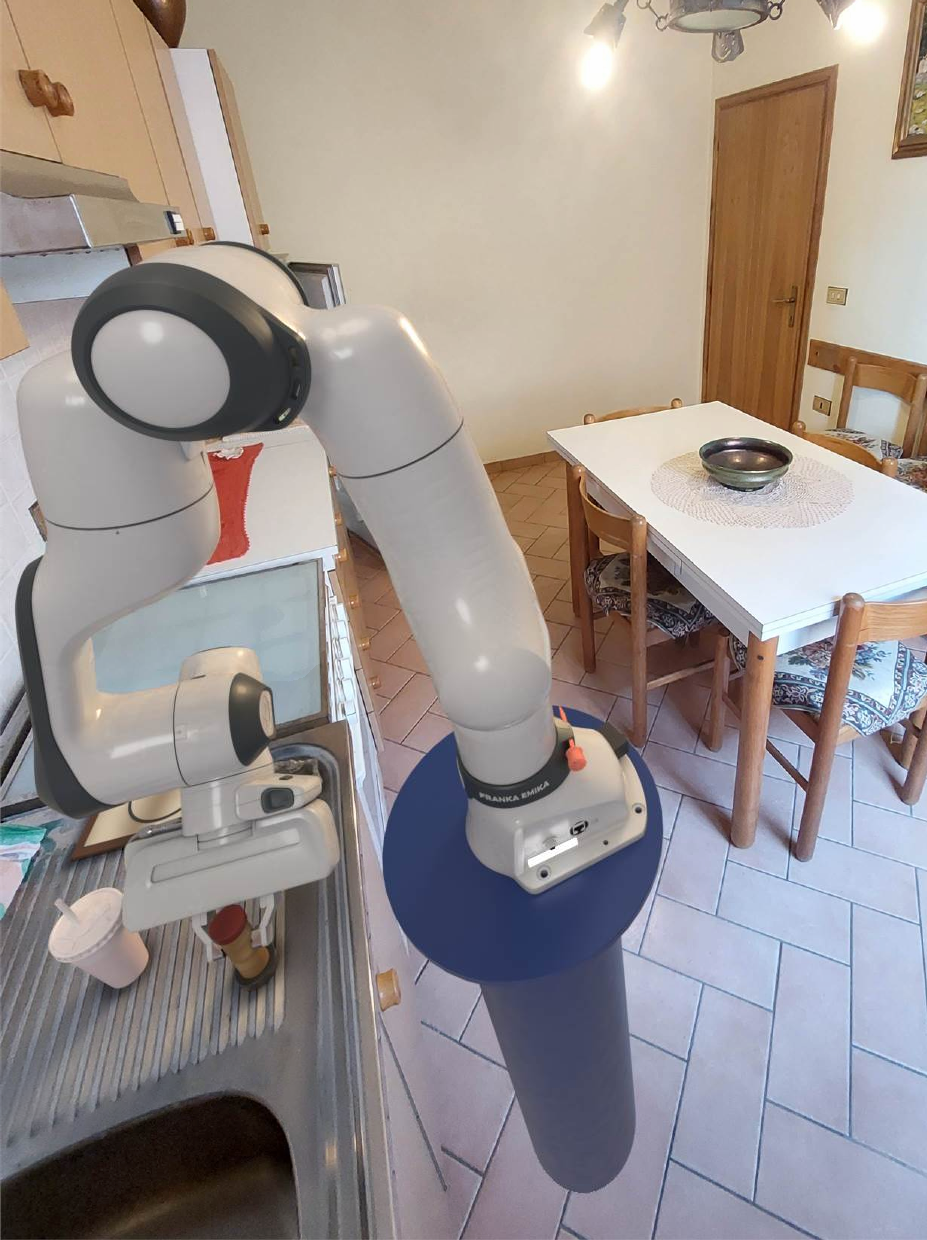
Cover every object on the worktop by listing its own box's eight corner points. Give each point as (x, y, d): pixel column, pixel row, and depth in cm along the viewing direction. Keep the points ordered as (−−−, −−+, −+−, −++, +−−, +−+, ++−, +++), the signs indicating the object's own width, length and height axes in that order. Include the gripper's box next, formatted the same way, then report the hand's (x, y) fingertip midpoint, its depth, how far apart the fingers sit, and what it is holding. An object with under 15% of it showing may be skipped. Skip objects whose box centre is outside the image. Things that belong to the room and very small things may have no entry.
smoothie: (91, 965, 65) (23, 895, 58) (157, 920, 68) (100, 849, 62) (97, 1020, 60) (24, 951, 54) (167, 969, 64) (107, 898, 57)
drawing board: (233, 738, 90) (231, 734, 90) (207, 825, 78) (205, 822, 78) (116, 766, 87) (114, 763, 87) (71, 861, 75) (68, 858, 75)
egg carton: (229, 831, 77) (216, 811, 75) (254, 777, 84) (244, 758, 82) (310, 825, 77) (300, 805, 75) (329, 772, 83) (320, 753, 81)
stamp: (281, 941, 65) (252, 894, 61) (275, 983, 62) (243, 937, 57) (243, 952, 65) (210, 906, 60) (234, 996, 61) (198, 951, 57)
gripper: (105, 839, 59) (109, 1002, 56) (319, 783, 63) (336, 933, 59) (141, 824, 65) (147, 970, 62) (335, 773, 69) (351, 909, 65)
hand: (241, 951), depth 60 cm, fingers closed on stamp, 3 cm apart
